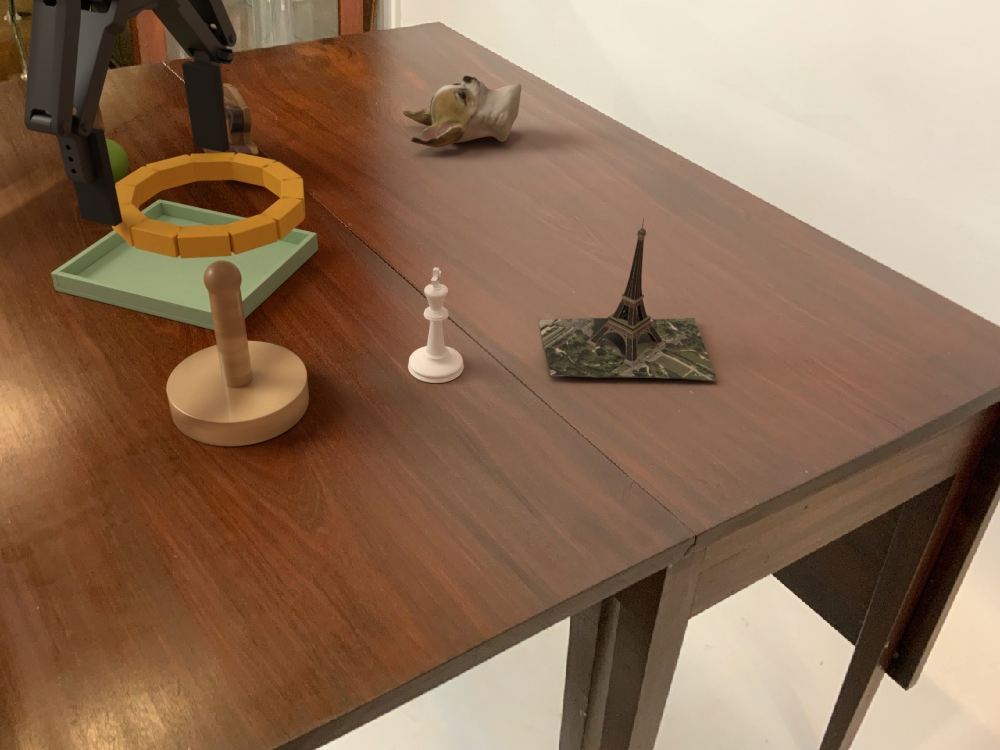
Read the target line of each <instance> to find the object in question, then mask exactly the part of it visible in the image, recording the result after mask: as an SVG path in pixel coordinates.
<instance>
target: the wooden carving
mask: <svg viewBox="0 0 1000 750" xmlns="http://www.w3.org/2000/svg"><path fill="white" fill-rule="evenodd" d="M223 89H224V109H225V117H226V124H227V132H228V140H229V148H230V149H229V150H227V151H226V152H220V151H215V150H210V149H205V148H202V150H203V153H233V152H234V153H235V155H236V154H237V153H243V154H248V155H253V156H258V157H259V149H258V147H257V146H256V145H255V144H254V143H253V140H252V134H251V130H252V123H253V122H252V114H251V109H250V107H249V106H247V104H246V102H245V100H244V98H243V96H242V95H241V94H240V92H239V91H238V89H237V87H235V85H232V84H231V83H228V82H225V83H223ZM188 120H189V124H190V125H191V122H190V116H189V115H188Z"/></svg>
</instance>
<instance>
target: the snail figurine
mask: <svg viewBox="0 0 1000 750" xmlns="http://www.w3.org/2000/svg"><path fill="white" fill-rule="evenodd" d="M93 128H96V129H101V130H104V134H105V132H106V128H105V122H104V119H103V114H102V111H101V107H100V104H99V105H98V109H97V113H96V117H95V121H94V125H93ZM105 139H106V144H107V149H108V153H109V158H110V163H111V168H112V173H113V178H114V182H115V185H116V183H117V182H118V181H120V180H122V179H123V178H125V177H126V176H127V174H128V171H129V169H130V168H129V167H130V163H129V161H130V160H129V157H128V154H127V152H126V151H125V149H124V148H123V146H122V145H120V144H119V143H118V142H116V140H113V139H110V138H106V137H105Z"/></svg>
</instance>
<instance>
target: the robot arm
mask: <svg viewBox="0 0 1000 750" xmlns="http://www.w3.org/2000/svg"><path fill="white" fill-rule="evenodd" d="M92 7H93V8H94V9H95V10H96V11H92V10H91V8H92ZM144 10H145V11H151V12H152V13H153V14H154V15H155V16H156V18H158V20H159V21H160V22H161V23H162V25H163V26H164V28H166V30H167V31H168V33H170V34H171V36H172V37H173V39H174V40H175V41H176V42H177V43H178V44H179V47H180V48H182V50H183V51H184V52H185V53H186V54H187V56H188V57H189V58H191V59H193V61H191V60H185V61H184V62H182V63H181V69H182V76H183V82H184V88H185V96H186V101H187V110H188V117H189V116H190V120H189V123H190V122H191V124H190V129H191V134H192V140H193V142H192V143H193V147H196V148H201V149H203V148H205V149H210V150H215V151H220V152H226V151H227V150H229V149H230V148H229V140H228V132H227V124H226V117H225V109H224V89H223V84H224V82H223V75H222V69H221V68H222V67H221V66H222V65H221V64H223V65H231V64H232V63H233V60H234V50H233V48H234V46H235V45H236V43H237V34H236V30H235V29H234V26H233V24H232V21H231V19H230V16H229V14H228V12H227V9H226V7H225V3H224V2H223V0H32V11H31V24H30V25H31V26H30V37H29V50H28V65H27V76H26V77H27V78H26V79H27V80H26V90H25V91H26V92H25V103H24V118H23V122H24V126H25V128H26V129H27V130H29V131H33V132H36V133H41V134H46V135H50V136H51V135H52V136H54V137H56V140H57V142H58V148H59V151H60V155H61V159H62V164H63V168H64V172H65V176H66V177H67V178H68V180H69V181H71V182H72V183H73V187H74V188H73V189H74V192H75V196H76V200H77V205H78V209H79V212H80V218H81V219H82V220H86V221H90V222H95V223H99V224H102V225H107V226H111V227H112V226H115V227H116V226H117V225H119V224H120V223H122V222H123V221H122V216H121V211H120V207H119V202H118V197H117V192H116V187H115V182H114V178H113V173H112V168H111V163H110V158H109V153H108V149H107V144H106V139H107V138H106V135H105V133H104V130H101V129H96V128H93V125H94V121H95V117H96V113H97V109H98V105H99V106H100V102H101V97H102V94H103V90H104V86H105V82H106V79H107V75H108V71H109V67H110V63H111V59H112V56H113V51H114V47H115V44H116V41H117V37H118V36H119V35H122V34H123V33H124V32H125V30H126V28H127V25H128V20H131V19H133V18H136V17H137V16H138V15H140V13H142V12H143V11H144ZM212 25H214V26H212ZM228 47H229V48H228ZM74 109H75V114H73V112H74ZM105 138H106V139H105Z"/></svg>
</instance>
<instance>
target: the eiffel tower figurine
mask: <svg viewBox="0 0 1000 750" xmlns="http://www.w3.org/2000/svg"><path fill="white" fill-rule="evenodd" d="M644 224H645V217H643V218H642V225H641V227H640V228H639V230H637V233H636V236H637V241H636V244H635V245H636V246H635V249H634V250H635V251H634V255H633V259H632V263H631V267H630V271H629V276H628V280H627V283H626V287H625V290H624V292H623V293H622V294H621V299H620V301H619V304H618V306H617V307H616V309H615V311H614V312H613V313H611V314H610V315H608V317H590V318H589V317H588V318H587V317H585V318H559V319H558V318H557V319H556V318H555V319H538V323H539V329H540V334H541V339H542V345H543V349H544V351H545V355H546V358H547V363H548V369H549V373H550V377H574V378H575V377H577V378H642V379H643V378H647V379H675V380H676V379H679V380H693V381H712V382H717V381H718V379H717V376H716V373H715V370H714V367H713V366H712V365H713V364H712V362H711V360H710V357H709V355H708V351H707V348H706V346H705V343H704V340H703V338H702V335H701V332H700V329H699V327H698V323H697V322H696V319H695V317H684V318H653V319H652V316H651V315H649V314H647V311H646V307H645V302H644V297H645V295H644V294H643V290H642V289H643V288H642V286H643V284H642V282H643V279H642V278H643V277H642V276H643V261H644V260H643V258H644V246H645V245H644V244H645V236H647V230H646V229H644V228H645V227H644Z"/></svg>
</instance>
